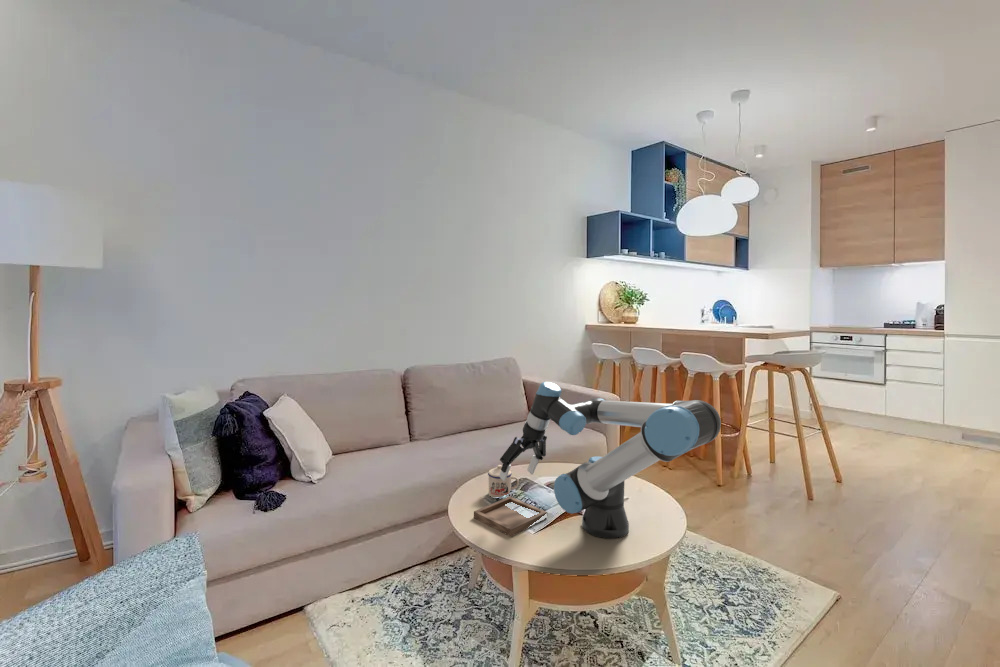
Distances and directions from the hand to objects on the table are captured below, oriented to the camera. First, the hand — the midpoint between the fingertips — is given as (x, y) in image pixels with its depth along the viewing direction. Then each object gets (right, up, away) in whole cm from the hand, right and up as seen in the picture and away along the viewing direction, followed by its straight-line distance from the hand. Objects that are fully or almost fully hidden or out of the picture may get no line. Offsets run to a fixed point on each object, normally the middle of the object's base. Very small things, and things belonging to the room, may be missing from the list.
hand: (516, 475), depth 166 cm
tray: (-2, -14, -3) cm, 14 cm away
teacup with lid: (-4, -13, +16) cm, 21 cm away
